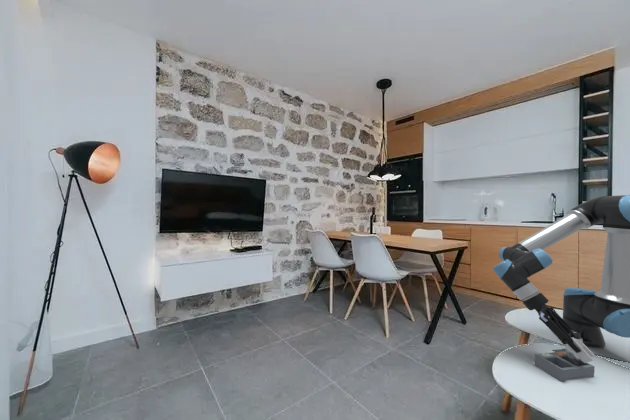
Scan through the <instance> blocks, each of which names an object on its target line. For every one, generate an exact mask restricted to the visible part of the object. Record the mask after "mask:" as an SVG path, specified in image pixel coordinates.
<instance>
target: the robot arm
mask: <svg viewBox="0 0 630 420" xmlns="http://www.w3.org/2000/svg"><path fill="white" fill-rule="evenodd" d="M601 224H602V229H603V230H605V231H606V232H607V235H606V244H605V251H604V258H603V259H604V260H603V267H602V275H601V282H600V290H595V289H588V288H580V287H567V288H565V289H564V292H563V301H562V302H563V303H562V317H561V316H560V314H558V312H557V311H556V310H555V309H554V307H552V306H551V307H549V306H548V305H547V303H549V299H548V298H547V297H546V296H545V295H544V294H543V293H542V292H539V291H540V290H539V289H538V288H537V287H536V286H535V285H534V283H532V282H531V281H530V280H529V279H528V278H530V277H531V276H533V275H535V274H537V273H539V272H541V271H543V270H545V269H546V268H548V267H549V266H550V265H552V264H553V258H552V257H551V255H550V254H549V253H548V252H546V251H545V250H546V249H548V248H550V247H551V246H553V245H554V244H556V243H558V242H560V241H562V240H564V239H566V238H568V237H569V236H571V235H573V234H574V233H576V232H578V231H580V230H582V229H589V228H591V227H593V226H596V225H601ZM498 257H499V259H500V260H501V262H499V263H497V264H496V265H494V267H492V268H493V271H494V273H495V274H496V276H497V277H498V278H499V279H500V280H501V281H502V282H503V283H504V284H505V285H506V286H507V287H508V288H509V289H510V290H511V292H513V296H515V297H517V299H519V300H520V301H522V304H523V305H524V306H525V307H526V309H528V311H533V310H534V311H535V312H536V313H537V314H538V316H539V317H538V319H539V320H540V321H541V322H542V323H543V324H544V325H545V326H546V327H547V328H548V329H549V330H550V331H551V332H552V333H553V334H554V335H555V336H556V338H557V339H558V340H559V341H560V342H561V343H562V345H565V346H566V344H567V345H568V346H569V347H570V348H571V349H572V350H573V351H574V352H575V353H576V355H577V356H578V357H579V358H580V359H581V360H582V361H583V362H584V363H586V362H587V363H589V362H592V361H594V359H593V358H592V357H595V353H594V352H593V351H592V350H590V349H589V348H594V349H596V348H597V349H603V348H604V347H605V348H606V340H605V338H604V335H603V333H602V330H605V331H606V332H608V333H610V334H612V335H615V336H618V337H621V338H626V339H627V338H630V194H626V195H621V194H620V195H602V196H597V197H594V198H591V199H588V200H586V201H584V202H582V203H581V204H578V205H577V206H574V207H573V208H571V209H570V210H568V211H567V212H566V215H564V216H562V217H561V218H559V219H557V220H556V221H553V222H551V224H548V225H547V226H545V227H543V228H542V229H540V230H539V231H537V232H535V233H533V234H532V235H530V236H527V237H526V238H525V239H523V240H520V241H519V242H517V243H515V244H514V245H512V246H504V247H501V248H500V250H499V252H498ZM569 330H576V331H578V332H580V333H581V335H580V338H582V339H583V342H582V347H581V346H580V345H579V344H578V343H577V342H576V341H575V340H574V341H573V339H572V338H571V337H570V336H569V335H568V334H569ZM605 348H604V349H605Z"/></svg>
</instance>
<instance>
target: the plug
mask: <svg viewBox="0 0 630 420" xmlns="http://www.w3.org/2000/svg"><path fill="white" fill-rule="evenodd" d="M568 335H569V336H570V337H571V338H572V339H573V341H574V340H575V341H576V342H577V343H578V344H579V345H580V346H581V347H582V342H583V339H582V338H580V335H581V333H580V332H578V331H576V330H569V334H568ZM565 349H566V353H565V360H566V361H568V362H570V363H572V364H574V365H576V366H581V359H580V358H579V357H578V356H577V355H576V353H575V352H574V351H573V350H572V349H571V348H570V347H569V346H568V345H567V344H565Z"/></svg>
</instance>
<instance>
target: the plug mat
mask: <svg viewBox="0 0 630 420" xmlns="http://www.w3.org/2000/svg"><path fill="white" fill-rule="evenodd" d="M551 351H552V352H553V353H554V352H561V351H563V352H564V351H565V352H566V348H561V349H560V348H559V349H551Z"/></svg>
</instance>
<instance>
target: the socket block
mask: <svg viewBox="0 0 630 420" xmlns="http://www.w3.org/2000/svg"><path fill="white" fill-rule="evenodd" d="M565 353H566V352H565V351H564V352H563V351H561V352H554V351H553V352H542V353H535V354H534V364H533V365H534V366H536V367H537V368H538V369H541V370H542V371H544V372H545V373H546V374H549V375H550V376H552V377H554V378H555V379H556V380H558V381H560V382H566V381H568V380H571V381H572V380H577V379H584V378H593V377H595V366H594V365H592V364H590V363H589V362H586V363H584V362H583V361H582V360H581V366H576V365H574V364H572V363H570V362H568V361H566V360H565Z"/></svg>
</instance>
